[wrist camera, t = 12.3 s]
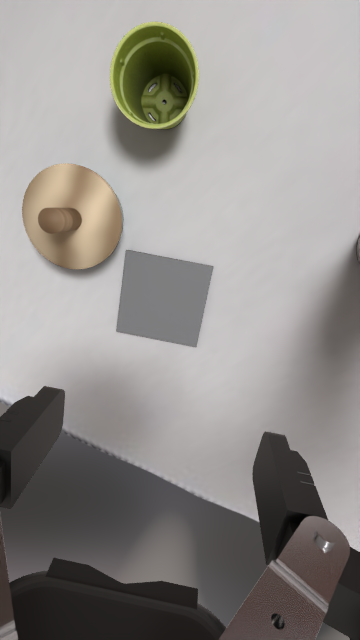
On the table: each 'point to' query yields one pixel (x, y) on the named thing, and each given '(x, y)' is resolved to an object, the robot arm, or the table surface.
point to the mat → (163, 298)
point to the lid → (72, 216)
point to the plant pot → (154, 75)
